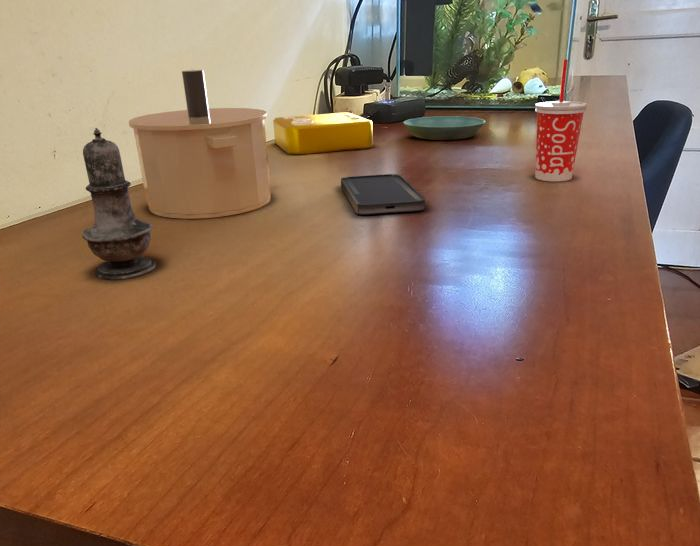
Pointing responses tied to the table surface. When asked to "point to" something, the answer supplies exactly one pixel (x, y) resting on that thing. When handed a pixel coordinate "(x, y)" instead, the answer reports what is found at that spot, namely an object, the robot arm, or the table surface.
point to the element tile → (323, 133)
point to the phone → (381, 194)
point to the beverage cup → (557, 136)
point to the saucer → (444, 127)
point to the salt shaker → (114, 215)
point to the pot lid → (197, 111)
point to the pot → (204, 170)
